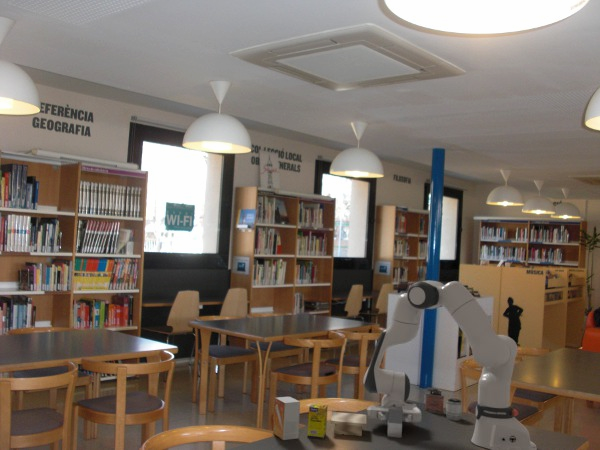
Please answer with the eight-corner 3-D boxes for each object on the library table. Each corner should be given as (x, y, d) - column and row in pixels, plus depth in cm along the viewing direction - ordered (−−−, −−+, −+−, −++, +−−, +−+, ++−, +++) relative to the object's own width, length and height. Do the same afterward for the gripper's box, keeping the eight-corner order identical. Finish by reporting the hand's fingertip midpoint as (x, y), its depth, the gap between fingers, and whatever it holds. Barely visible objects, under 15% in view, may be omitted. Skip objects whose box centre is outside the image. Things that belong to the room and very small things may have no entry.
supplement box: (323, 439, 229) (325, 408, 229) (307, 437, 230) (308, 406, 230) (326, 435, 234) (328, 404, 235) (310, 433, 236) (311, 403, 236)
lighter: (444, 412, 277) (445, 389, 278) (441, 414, 275) (442, 390, 275) (426, 409, 282) (427, 386, 282) (423, 410, 279) (424, 387, 279)
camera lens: (450, 415, 273) (451, 397, 273) (464, 419, 269) (464, 400, 269) (443, 418, 268) (444, 399, 268) (457, 421, 264) (457, 402, 264)
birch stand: (365, 427, 247) (366, 414, 247) (365, 437, 234) (366, 423, 234) (331, 425, 248) (332, 411, 248) (329, 434, 235) (330, 420, 235)
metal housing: (400, 433, 241) (401, 406, 242) (401, 437, 237) (402, 410, 237) (387, 432, 242) (388, 405, 242) (387, 436, 237) (389, 409, 237)
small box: (272, 433, 232) (274, 397, 233) (288, 432, 235) (290, 396, 236) (282, 440, 225) (284, 402, 226) (298, 438, 228) (300, 401, 229)
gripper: (367, 399, 253) (367, 408, 240) (419, 404, 251) (423, 412, 238) (366, 416, 253) (366, 425, 239) (419, 420, 251) (422, 430, 237)
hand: (395, 419), depth 239 cm, fingers open, 7 cm apart
